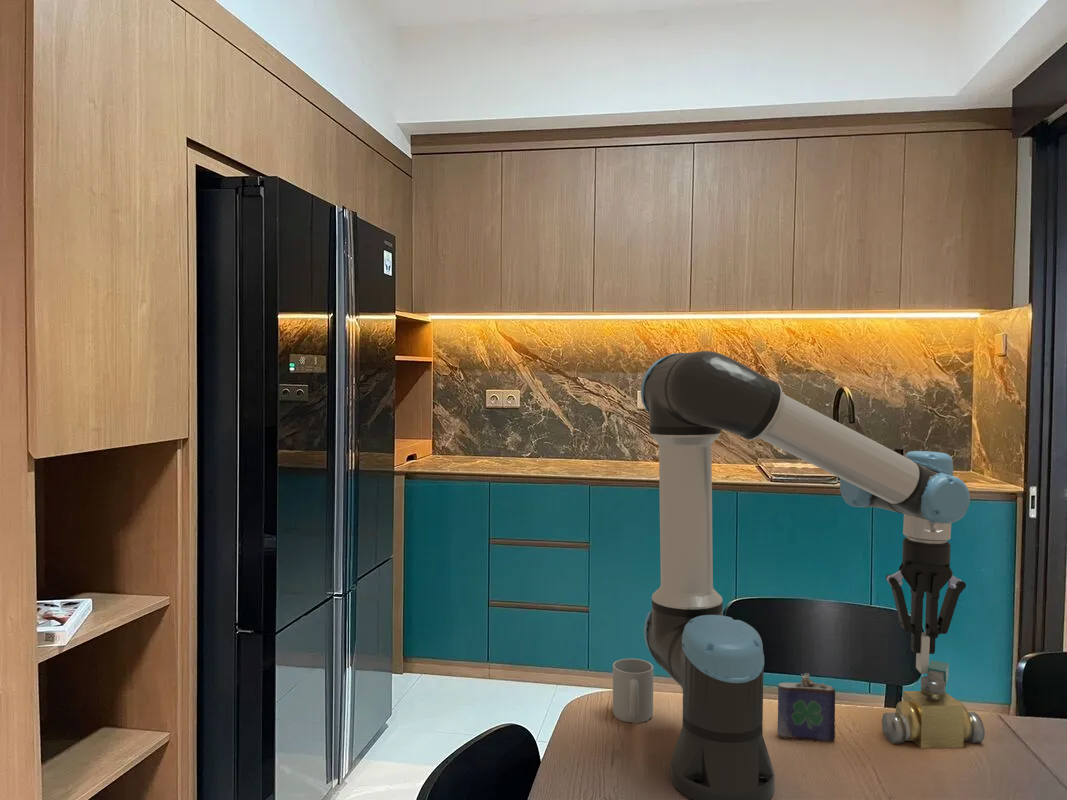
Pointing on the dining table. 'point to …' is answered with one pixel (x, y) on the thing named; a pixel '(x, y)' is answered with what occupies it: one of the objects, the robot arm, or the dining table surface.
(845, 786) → the dining table surface
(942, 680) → the lever
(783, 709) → the flask
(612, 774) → the dining table surface
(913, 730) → the pipe valve
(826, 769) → the dining table surface
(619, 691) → the cup
